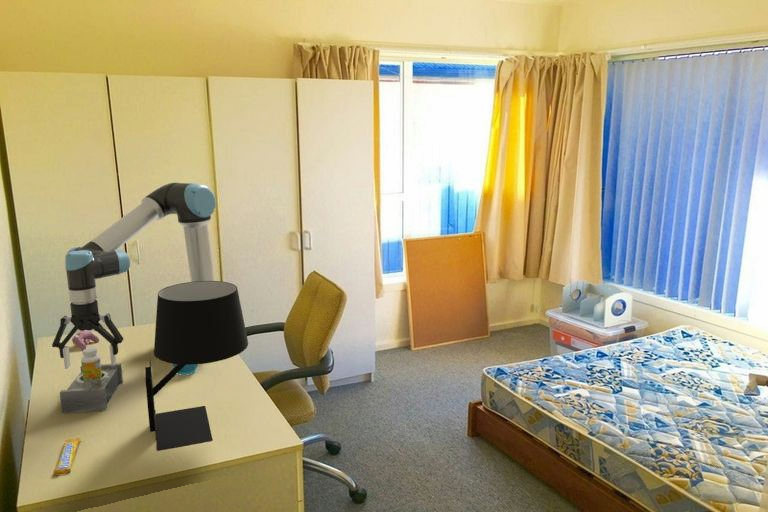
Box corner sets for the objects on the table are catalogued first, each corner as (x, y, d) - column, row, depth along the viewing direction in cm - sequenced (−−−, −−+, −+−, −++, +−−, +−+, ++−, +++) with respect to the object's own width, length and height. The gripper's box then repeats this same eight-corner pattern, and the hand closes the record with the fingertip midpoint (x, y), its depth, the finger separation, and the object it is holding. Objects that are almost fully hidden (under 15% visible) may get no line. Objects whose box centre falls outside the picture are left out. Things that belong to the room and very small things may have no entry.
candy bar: (71, 475, 144) (70, 469, 144) (52, 479, 143) (51, 472, 143) (82, 442, 160) (81, 436, 159) (65, 444, 159) (64, 438, 158)
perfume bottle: (179, 379, 200) (175, 337, 196) (168, 370, 206) (165, 330, 203) (204, 371, 206) (201, 331, 202) (193, 364, 212) (190, 325, 209)
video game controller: (92, 344, 236) (83, 329, 235) (101, 340, 235) (92, 325, 234) (76, 353, 226) (67, 338, 225) (86, 349, 225) (76, 333, 224)
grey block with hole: (123, 382, 197) (121, 362, 195) (106, 410, 177) (104, 388, 176) (83, 385, 195) (81, 365, 193) (62, 413, 175) (59, 392, 174)
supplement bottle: (79, 381, 183) (76, 352, 181) (91, 374, 188) (88, 346, 186) (94, 383, 182) (91, 353, 180) (105, 376, 187) (102, 347, 185)
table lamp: (150, 412, 176) (138, 284, 167) (244, 397, 186) (238, 275, 178) (150, 455, 153) (137, 309, 144) (258, 435, 163) (252, 297, 154)
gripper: (129, 295, 185) (135, 358, 190) (44, 299, 181) (52, 363, 185) (123, 302, 178) (129, 367, 182) (34, 306, 173) (43, 373, 178)
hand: (90, 365), depth 184 cm, fingers open, 13 cm apart
